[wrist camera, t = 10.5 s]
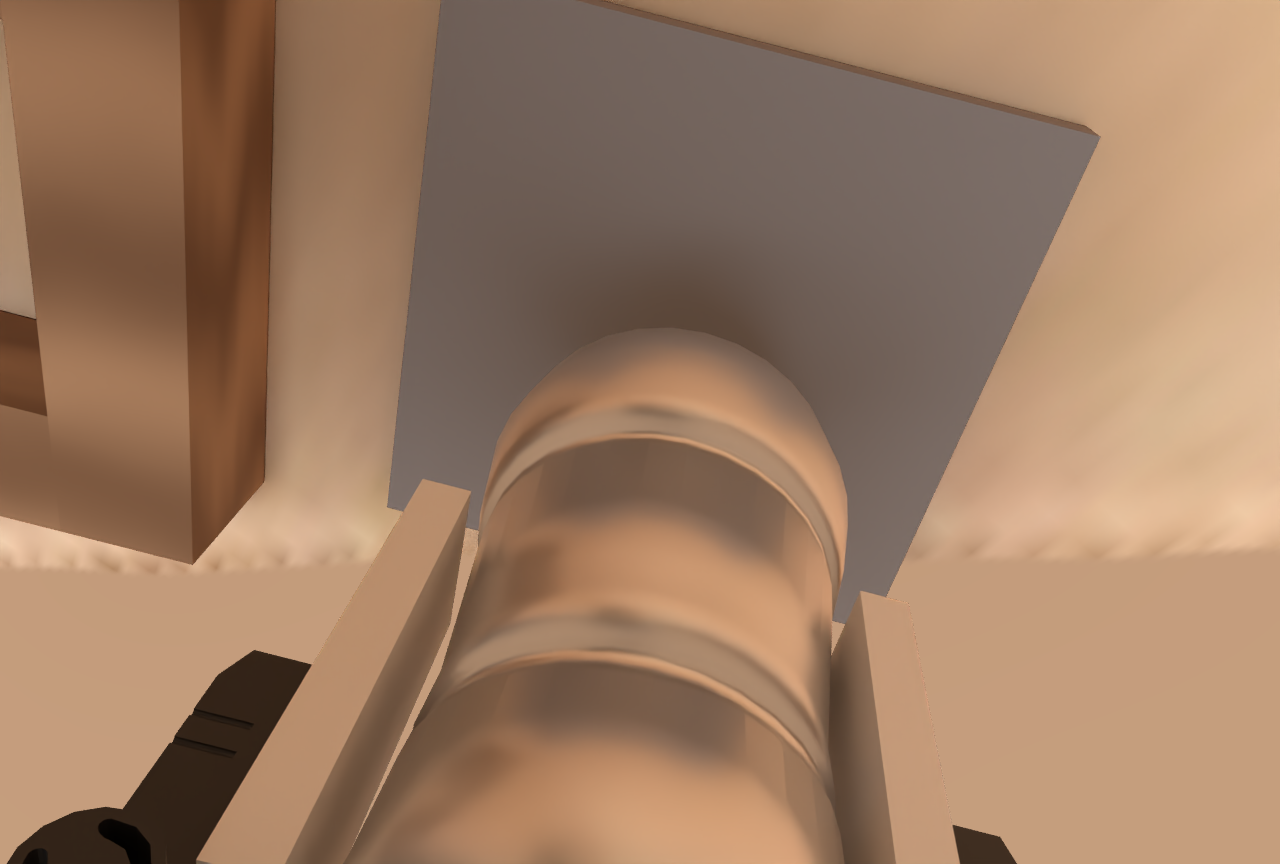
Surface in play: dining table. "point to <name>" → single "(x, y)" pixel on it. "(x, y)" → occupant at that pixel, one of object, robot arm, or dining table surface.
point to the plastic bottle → (637, 628)
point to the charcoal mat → (718, 238)
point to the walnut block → (139, 268)
